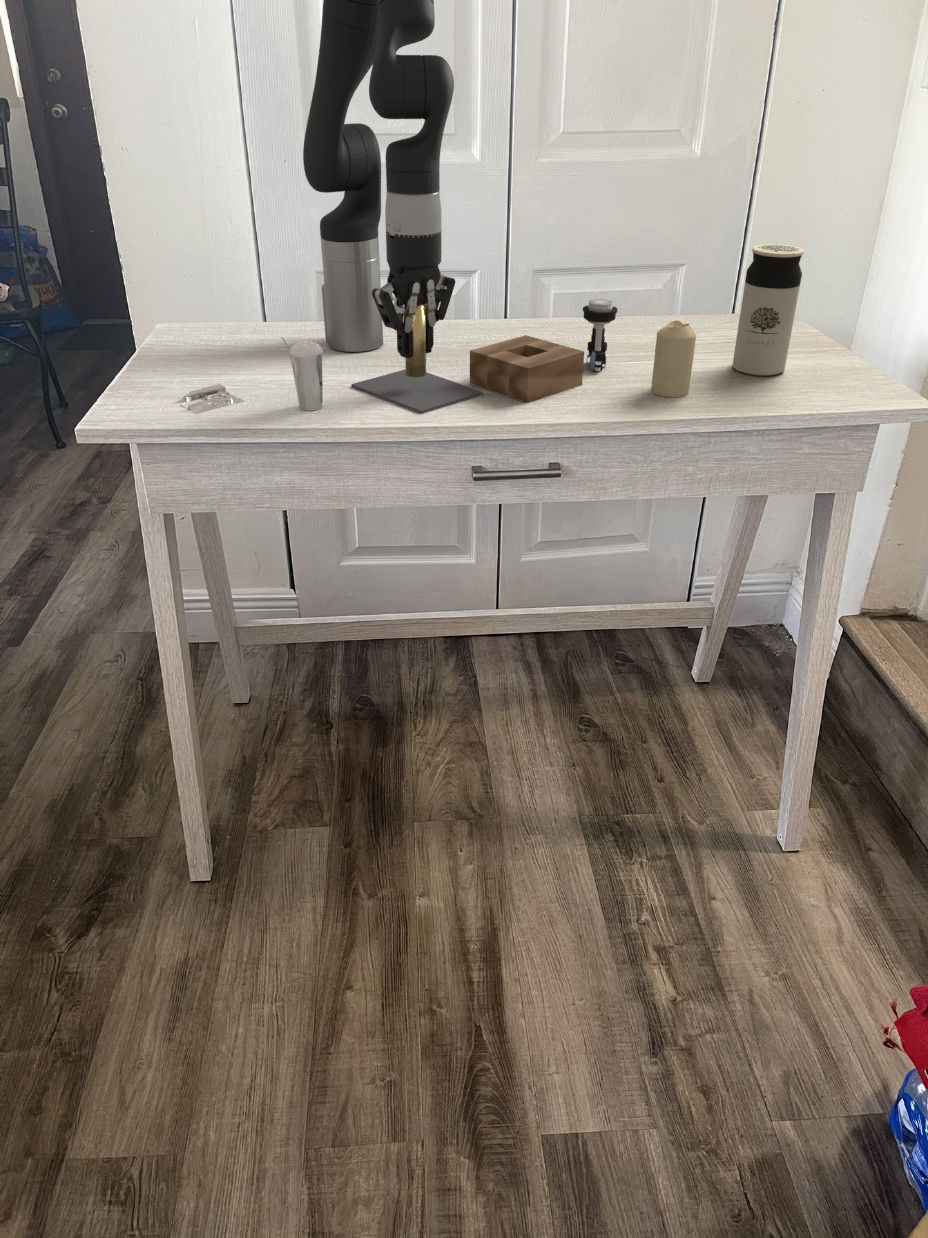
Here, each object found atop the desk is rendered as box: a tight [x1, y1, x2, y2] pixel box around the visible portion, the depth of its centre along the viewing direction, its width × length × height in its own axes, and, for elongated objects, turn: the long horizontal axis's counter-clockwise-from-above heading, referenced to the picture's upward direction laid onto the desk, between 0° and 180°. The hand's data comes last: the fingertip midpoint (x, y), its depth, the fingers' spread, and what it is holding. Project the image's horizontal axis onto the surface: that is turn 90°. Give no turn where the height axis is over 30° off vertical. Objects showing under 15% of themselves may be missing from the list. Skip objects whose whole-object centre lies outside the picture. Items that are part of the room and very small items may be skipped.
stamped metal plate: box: [179, 383, 245, 415], centre depth 136 cm, size 8×7×2 cm
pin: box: [403, 304, 427, 377], centre depth 135 cm, size 3×3×10 cm
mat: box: [351, 368, 484, 415], centre depth 140 cm, size 16×12×1 cm
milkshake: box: [281, 336, 324, 412], centre depth 131 cm, size 4×5×10 cm
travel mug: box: [732, 243, 805, 377], centre depth 144 cm, size 8×8×18 cm
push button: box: [582, 298, 618, 372], centre depth 147 cm, size 7×5×10 cm
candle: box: [650, 319, 697, 398], centre depth 137 cm, size 6×6×10 cm
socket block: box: [469, 335, 585, 404], centre depth 141 cm, size 12×12×5 cm
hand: (415, 353), depth 136 cm, fingers closed on pin, 3 cm apart
